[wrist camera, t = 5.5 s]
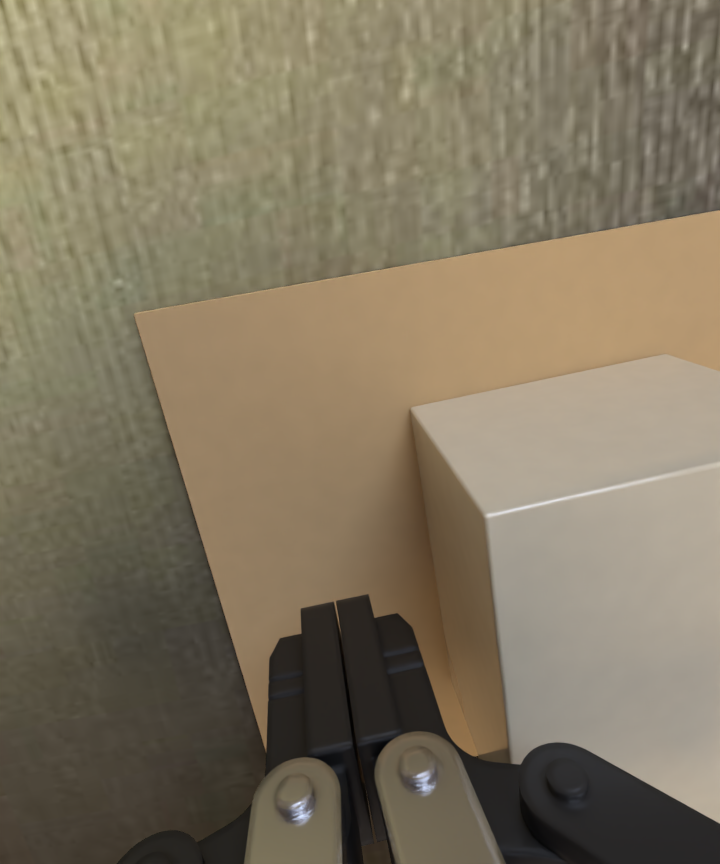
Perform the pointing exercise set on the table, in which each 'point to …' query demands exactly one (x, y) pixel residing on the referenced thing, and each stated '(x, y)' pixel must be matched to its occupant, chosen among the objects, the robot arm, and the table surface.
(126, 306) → the table surface
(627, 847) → the robot arm
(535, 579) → the cream cardboard carton
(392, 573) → the runner
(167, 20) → the table surface
